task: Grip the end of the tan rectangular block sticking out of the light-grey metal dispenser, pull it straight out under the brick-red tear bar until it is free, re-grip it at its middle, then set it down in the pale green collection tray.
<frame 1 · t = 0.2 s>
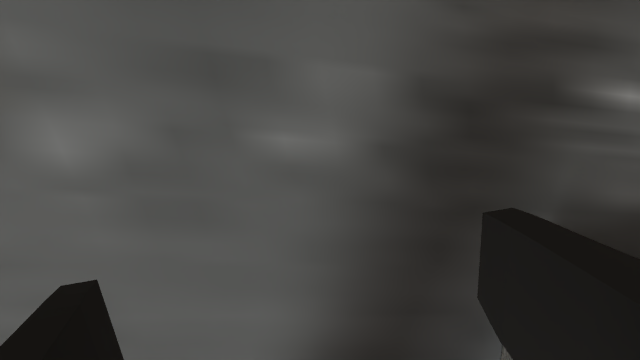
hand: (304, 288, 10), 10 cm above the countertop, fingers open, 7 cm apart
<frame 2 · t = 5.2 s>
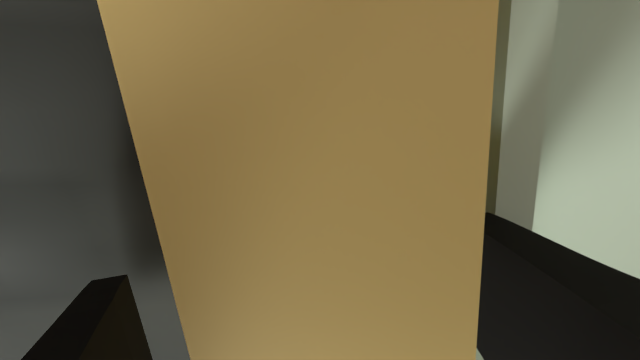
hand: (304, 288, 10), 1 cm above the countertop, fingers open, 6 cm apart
tan rectangular block: (266, 36, 9), on the countertop
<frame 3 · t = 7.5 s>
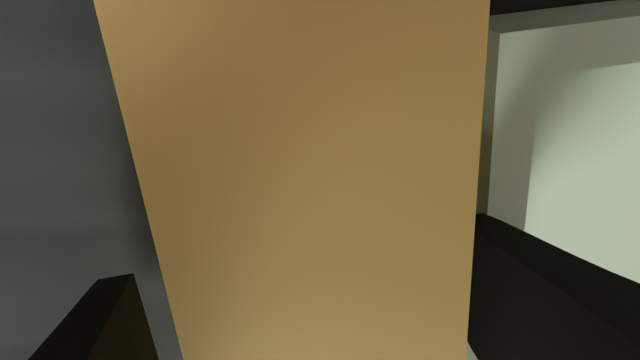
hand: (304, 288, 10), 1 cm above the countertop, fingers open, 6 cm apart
tan rectangular block: (284, 227, 11), on the countertop
tray: (608, 359, 15), on the countertop
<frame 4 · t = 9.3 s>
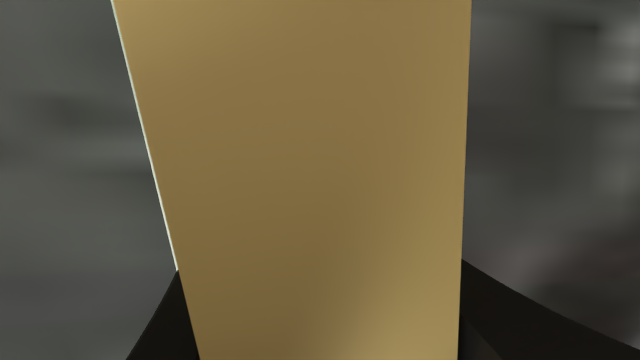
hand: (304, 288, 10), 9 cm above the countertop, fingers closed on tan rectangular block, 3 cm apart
tan rectangular block: (286, 217, 12), point 6 cm above the countertop, touching gripper
tray: (304, 152, 18), on the countertop
when the fingers open (3 cm above the countertop, at t = 10.7 s): tan rectangular block stays where it is, resting on tray.
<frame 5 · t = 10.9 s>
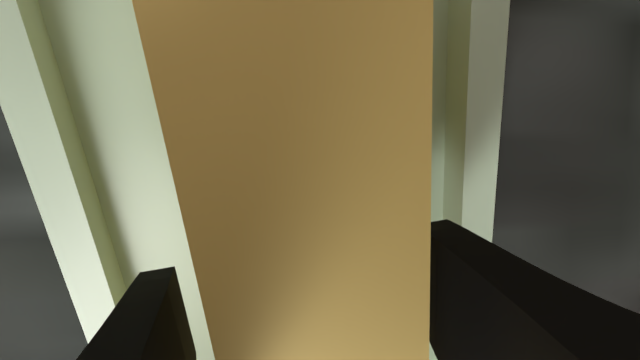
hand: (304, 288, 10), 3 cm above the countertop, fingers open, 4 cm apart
tan rectangular block: (282, 198, 12), resting on tray
tray: (282, 204, 13), on the countertop
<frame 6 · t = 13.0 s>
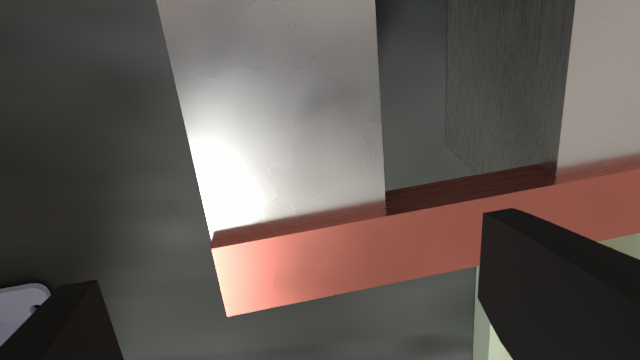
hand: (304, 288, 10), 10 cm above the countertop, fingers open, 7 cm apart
tray: (561, 351, 27), on the countertop
dispenser: (385, 38, 18), on the countertop
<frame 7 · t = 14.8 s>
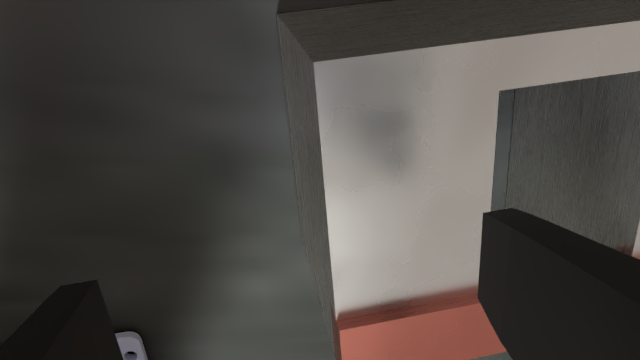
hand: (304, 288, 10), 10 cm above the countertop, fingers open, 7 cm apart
dispenser: (458, 116, 20), on the countertop
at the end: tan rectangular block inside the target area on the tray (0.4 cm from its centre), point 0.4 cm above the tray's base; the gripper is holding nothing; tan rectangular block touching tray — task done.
